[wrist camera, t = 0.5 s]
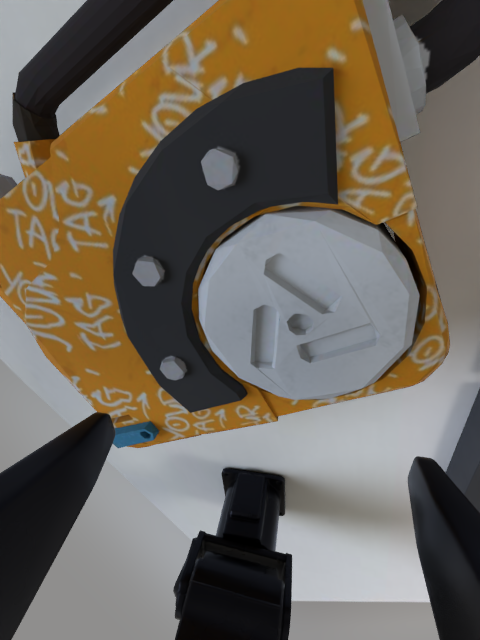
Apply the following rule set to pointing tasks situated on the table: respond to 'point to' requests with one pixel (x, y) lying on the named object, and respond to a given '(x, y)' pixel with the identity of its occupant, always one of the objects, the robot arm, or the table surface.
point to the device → (230, 211)
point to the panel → (468, 458)
